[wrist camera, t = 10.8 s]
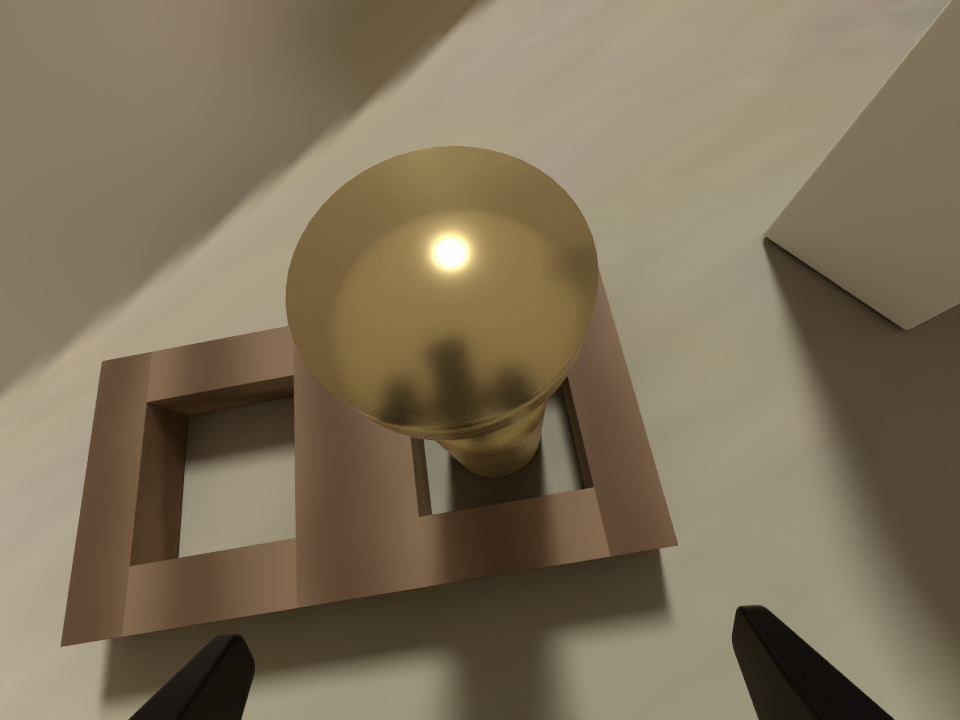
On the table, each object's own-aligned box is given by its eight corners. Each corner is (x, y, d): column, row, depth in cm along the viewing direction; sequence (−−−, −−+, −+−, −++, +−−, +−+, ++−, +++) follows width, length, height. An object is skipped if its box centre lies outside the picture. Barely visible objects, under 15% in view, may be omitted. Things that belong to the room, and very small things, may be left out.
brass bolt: (512, 514, 19) (481, 497, 6) (415, 447, 20) (223, 318, 7) (574, 413, 20) (656, 220, 7) (478, 356, 21) (406, 108, 9)
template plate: (590, 295, 22) (598, 267, 19) (658, 542, 18) (678, 545, 15) (146, 378, 23) (102, 361, 20) (118, 631, 19) (60, 646, 16)
